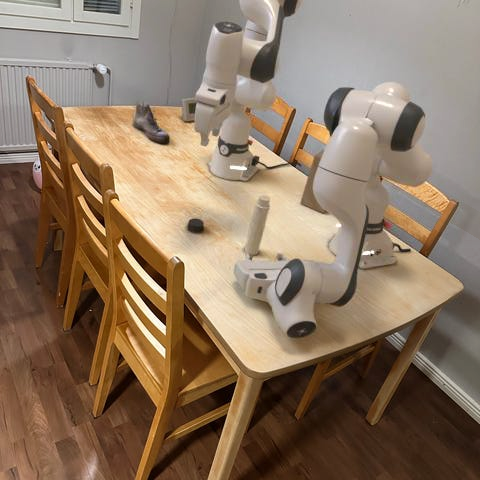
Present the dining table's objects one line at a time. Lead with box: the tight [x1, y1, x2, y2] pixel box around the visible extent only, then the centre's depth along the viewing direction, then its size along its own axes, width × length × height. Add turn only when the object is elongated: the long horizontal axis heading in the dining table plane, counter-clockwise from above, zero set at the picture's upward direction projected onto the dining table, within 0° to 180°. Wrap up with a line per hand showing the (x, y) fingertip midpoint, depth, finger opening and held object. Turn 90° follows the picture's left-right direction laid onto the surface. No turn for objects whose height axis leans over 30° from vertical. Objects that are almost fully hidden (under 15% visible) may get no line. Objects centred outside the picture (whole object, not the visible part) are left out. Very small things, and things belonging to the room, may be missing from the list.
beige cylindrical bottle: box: [244, 194, 271, 256], centre depth 130 cm, size 4×4×18 cm
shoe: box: [132, 101, 171, 145], centre depth 195 cm, size 25×11×12 cm, turn 30°
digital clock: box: [181, 97, 198, 123], centre depth 223 cm, size 16×9×11 cm, turn 123°
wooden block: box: [300, 148, 327, 214], centre depth 165 cm, size 10×10×20 cm
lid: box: [187, 217, 205, 234], centre depth 138 cm, size 5×5×2 cm
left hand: (209, 140), depth 123 cm, fingers open, 8 cm apart
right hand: (263, 255), depth 124 cm, fingers open, 8 cm apart
